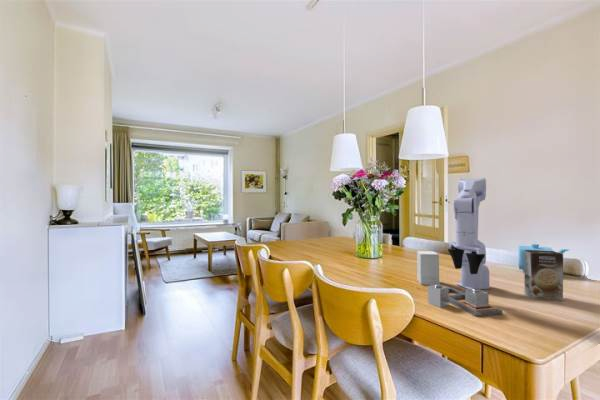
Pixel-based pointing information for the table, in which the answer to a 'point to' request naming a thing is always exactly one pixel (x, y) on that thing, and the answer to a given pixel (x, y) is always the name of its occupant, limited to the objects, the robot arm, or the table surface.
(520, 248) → the teapot
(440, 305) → the grey upright block
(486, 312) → the grey compartment tray
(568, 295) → the table surface
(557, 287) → the coffee box
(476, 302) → the grey rectangular block
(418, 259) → the supplement box
